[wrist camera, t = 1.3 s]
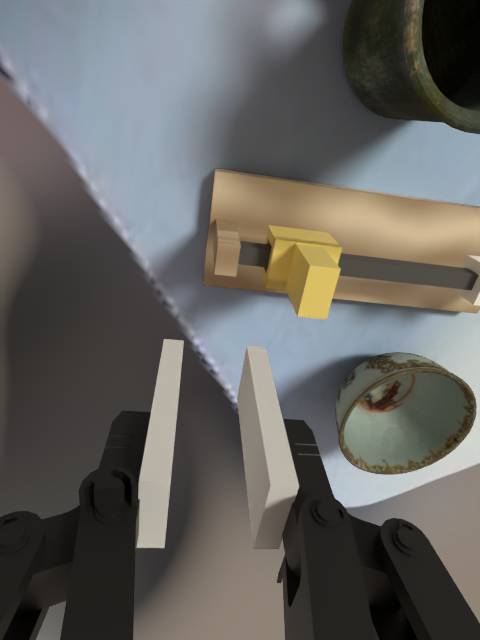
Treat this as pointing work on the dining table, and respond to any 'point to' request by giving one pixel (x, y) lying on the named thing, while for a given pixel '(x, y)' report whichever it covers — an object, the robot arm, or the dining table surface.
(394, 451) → the bowl
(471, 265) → the band
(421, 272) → the rod
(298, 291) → the sleeve
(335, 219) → the wooden slider rail
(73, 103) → the dining table surface
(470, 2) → the mug
